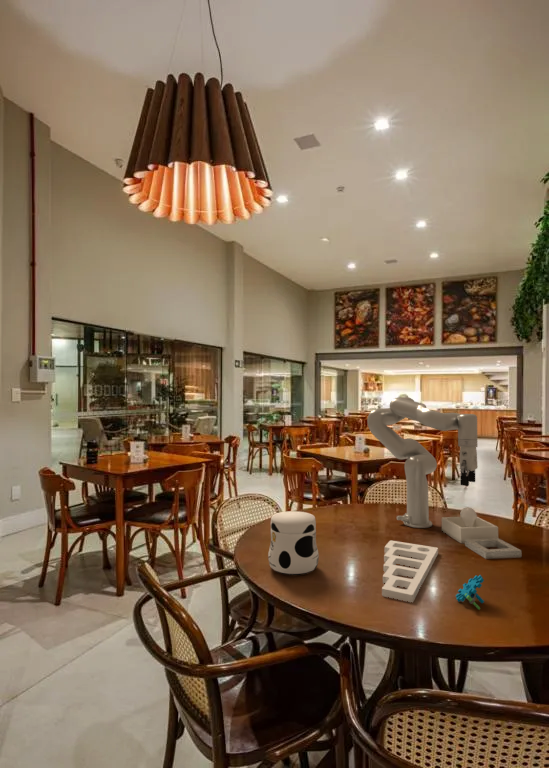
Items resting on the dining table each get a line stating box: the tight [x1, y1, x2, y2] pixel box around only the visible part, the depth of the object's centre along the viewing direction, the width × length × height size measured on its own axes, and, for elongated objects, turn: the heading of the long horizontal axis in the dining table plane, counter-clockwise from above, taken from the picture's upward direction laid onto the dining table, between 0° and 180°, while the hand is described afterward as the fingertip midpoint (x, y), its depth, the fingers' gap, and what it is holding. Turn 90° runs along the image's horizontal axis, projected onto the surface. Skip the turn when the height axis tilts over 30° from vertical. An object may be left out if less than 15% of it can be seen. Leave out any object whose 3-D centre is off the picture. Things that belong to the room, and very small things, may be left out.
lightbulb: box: [459, 506, 478, 527], centre depth 188 cm, size 6×6×11 cm
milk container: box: [267, 510, 320, 577], centre depth 153 cm, size 17×17×18 cm
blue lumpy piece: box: [455, 574, 485, 611], centre depth 129 cm, size 11×6×10 cm
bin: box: [441, 516, 499, 544], centre depth 188 cm, size 16×16×6 cm
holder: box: [381, 539, 439, 603], centre depth 153 cm, size 45×18×3 cm, turn 151°
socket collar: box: [464, 537, 523, 560], centre depth 170 cm, size 14×14×2 cm
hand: (468, 483), depth 189 cm, fingers open, 9 cm apart
